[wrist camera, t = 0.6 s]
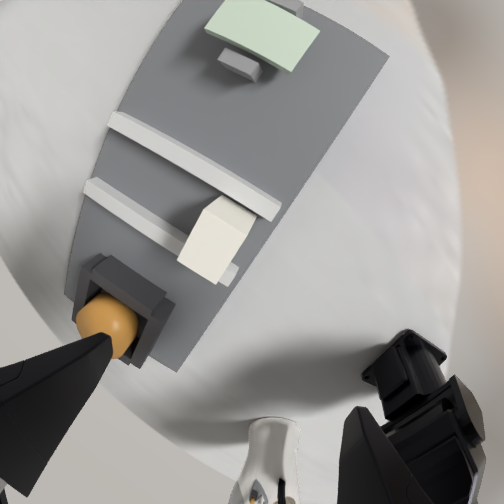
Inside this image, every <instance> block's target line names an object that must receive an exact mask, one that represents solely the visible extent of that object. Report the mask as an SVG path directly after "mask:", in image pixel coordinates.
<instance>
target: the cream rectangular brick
mask: <svg viewBox="0 0 504 504" xmlns="http://www.w3.org/2000/svg"><path fill="white" fill-rule="evenodd" d="M256 217H257V216H256V215H255V214H253V213H251V212H250V211H248V210H246V209H245V208H243V207H242V206H240V205H238V204H237V203H235V202H234V201H232V200H230V199H229V198H227V197H225V196H224V195H221V196H220V197H219V198H217V199H216V200H215V201H213V202H212V203H211V204H209V205H208V206H207V207H205V208H204V209H203V211H202V213H201V215H200V217H199V219H198V220H197V222H196V224H195V226H194V228H193V230H192V232H191V234H190V235H189V237H188V239H187V241H186V243H185V245H184V247H183V249H182V251H181V253H180V255H179V257H178V259H177V261H178V262H180V263H182V264H183V265H185V266H186V267H188V268H189V269H191V270H193V271H194V272H196V273H197V274H199V275H201V276H202V277H204V278H206V279H207V280H209V281H210V282H212V283H214V284H215V285H216V284H217V282H218V281H219V279H220V278H221V276H222V275H223V273H224V271H225V270H226V268H227V267H228V265H229V264H230V262H231V260H232V259H233V257H234V256H235V254H236V253H237V251H238V249H239V248H240V246H241V245H242V243H243V242H244V240H245V238H246V237H247V235H248V233H249V231H250V229H251V227H252V225H253V223H254V221H255V219H256Z"/></svg>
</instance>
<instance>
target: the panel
mask: <svg viewBox="0 0 504 504" xmlns="http://www.w3.org/2000/svg"><path fill="white" fill-rule="evenodd" d="M224 1H225V0H183V1H182V3H181V4H180V5H179V7H178V8H177V9H176V11H175V12H174V14H173V15H172V16H171V18H170V19H169V21H168V22H167V24H166V25H165V27H164V28H163V30H162V31H161V33H160V34H159V36H158V37H157V39H156V40H155V42H154V44H153V45H152V47H151V48H150V50H149V52H148V53H147V55H146V57H145V59H144V60H143V62H142V64H141V66H140V67H139V69H138V71H137V73H136V75H135V77H134V78H133V80H132V82H131V84H130V86H129V88H128V90H127V92H126V94H125V96H124V98H123V100H122V102H121V104H120V106H119V109H118V111H117V112H115V111H113V112H112V115H111V117H110V119H109V122H108V124H107V126H109V127H110V129H109V131H108V134H107V136H106V139H105V141H104V144H103V146H102V149H101V152H100V154H99V157H98V160H97V162H96V165H95V168H94V171H93V174H92V177H91V179H88V180H87V181H86V184H85V187H84V190H83V193H84V194H86V196H85V199H84V203H83V206H82V210H81V214H80V217H79V221H78V225H77V229H76V233H75V238H74V242H73V247H72V251H71V256H70V262H69V267H68V273H67V279H66V285H65V292H64V294H65V295H66V296H67V297H68V298H69V299H71V300H72V301H73V302H74V308H73V314H72V321H73V322H75V323H76V316H77V314H78V312H79V311H80V310H81V309H82V308H83V307H85V306H86V305H87V304H88V303H89V302H90V301H91V300H92V299H93V298H94V297H96V296H97V295H98V294H100V293H103V292H108V293H110V294H111V295H112V296H114V297H115V298H117V299H118V300H119V301H121V302H122V303H124V304H125V305H127V306H128V307H130V308H131V309H132V310H133V311H134V312H135V314H136V316H137V318H138V322H139V332H138V335H137V336H136V337H135V339H134V340H133V341H132V343H131V344H130V345H129V347H128V348H127V350H126V351H125V352H124V354H123V355H122V356H121V357H119V358H118V359H119V360H121V361H122V362H124V363H125V364H127V365H129V364H130V363H131V364H133V365H134V366H136V367H137V368H139V369H140V368H141V366H142V365H143V363H144V362H145V360H146V359H147V357H148V355H149V356H150V357H152V358H153V359H155V360H157V361H158V362H160V363H162V364H163V365H165V366H167V367H168V368H170V369H172V370H173V371H175V372H177V371H178V370H179V368H180V367H181V365H182V364H183V362H184V361H185V360H186V358H187V357H188V355H189V354H190V352H191V351H192V349H193V348H194V346H195V345H196V344H197V342H198V341H199V339H200V338H201V336H202V335H203V333H204V332H205V330H206V329H207V328H208V326H209V325H210V323H211V322H212V320H213V319H214V317H215V316H216V314H217V313H218V311H219V310H220V309H221V307H222V306H223V304H224V303H225V301H226V300H227V298H228V297H229V295H230V294H231V292H232V291H233V289H234V288H235V287H236V285H237V284H238V282H239V281H240V279H241V278H242V276H243V275H244V273H245V272H246V270H247V269H248V267H249V266H250V264H251V263H252V262H253V260H254V259H255V257H256V256H257V254H258V253H259V251H260V250H261V248H262V247H263V245H264V244H265V242H266V241H267V239H268V238H269V236H270V235H271V234H272V232H273V231H274V229H275V228H276V226H277V225H278V223H279V222H280V220H281V219H282V217H283V216H284V214H285V213H286V211H287V210H288V208H289V207H290V205H291V204H292V202H293V201H294V199H295V198H296V196H297V195H298V193H299V192H300V190H301V189H302V188H303V186H304V185H305V183H306V182H307V180H308V179H309V177H310V176H311V174H312V173H313V171H314V170H315V168H316V167H317V165H318V164H319V162H320V161H321V159H322V158H323V156H324V155H325V153H326V152H327V150H328V149H329V147H330V146H331V144H332V143H333V141H334V140H335V138H336V137H337V135H338V134H339V132H340V131H341V129H342V128H343V126H344V125H345V123H346V122H347V120H348V119H349V117H350V116H351V114H352V113H353V111H354V110H355V108H356V107H357V105H358V104H359V102H360V101H361V99H362V98H363V96H364V95H365V93H366V92H367V90H368V89H369V87H370V85H371V84H372V82H373V81H374V79H375V78H376V76H377V75H378V73H379V72H380V70H381V69H382V67H383V66H384V64H385V63H386V61H387V60H388V58H389V57H390V56H388V55H387V54H386V53H384V52H383V51H381V50H380V49H378V48H377V47H375V46H374V45H373V44H371V43H369V42H368V41H366V40H365V39H363V38H362V37H360V36H359V35H357V34H355V33H354V32H352V31H350V30H349V29H347V28H345V27H344V26H342V25H340V24H338V23H337V22H335V21H333V20H331V19H329V18H327V17H325V16H324V15H322V14H320V13H318V12H316V11H314V10H312V9H310V8H307V7H305V6H303V2H301V1H299V0H265V1H267V2H269V3H272V4H274V5H276V6H278V7H279V8H281V9H283V10H285V11H287V12H289V13H291V14H293V15H294V16H296V17H298V18H300V19H302V20H303V21H305V22H307V23H308V24H310V25H312V26H313V27H315V28H317V29H318V30H320V32H319V34H318V35H317V37H316V38H315V39H314V41H313V42H312V43H311V45H310V46H309V47H308V49H307V50H306V52H305V53H304V54H303V56H302V57H301V59H300V60H299V62H298V63H297V64H296V66H295V67H294V69H293V70H292V72H291V73H289V74H286V73H285V72H283V71H281V70H280V69H278V68H276V67H274V66H273V65H271V64H269V63H267V62H265V61H264V60H262V59H260V58H258V57H256V56H254V55H252V54H250V53H248V52H246V51H245V50H243V49H240V48H238V47H236V46H234V45H232V44H230V43H228V42H226V41H224V40H221V39H219V38H217V37H215V36H212V35H210V34H208V33H206V31H205V29H204V28H205V26H206V25H207V23H208V22H209V21H210V19H211V18H212V17H213V15H214V14H215V13H216V11H217V10H218V9H219V7H220V6H221V5H222V4H223V2H224ZM221 195H224V196H225V197H227V198H229V199H230V200H232V201H234V202H235V203H237V204H238V205H240V206H242V207H243V208H245V209H246V210H248V211H250V212H251V213H253V214H255V215H256V216H257V217H256V219H255V221H254V223H253V225H252V227H251V229H250V231H249V233H248V235H247V237H246V238H245V240H244V242H243V243H242V245H241V246H240V248H239V249H238V251H237V253H236V254H235V256H234V257H233V259H232V260H231V262H230V264H229V265H228V267H227V268H226V270H225V271H224V273H223V275H222V276H221V278H220V279H219V281H218V282H217V284H216V285H215V284H214V283H212V282H210V281H209V280H207V279H206V278H204V277H202V276H201V275H199V274H197V273H196V272H194V271H193V270H191V269H189V268H188V267H186V266H185V265H183V264H182V263H180V262H178V261H177V259H178V257H179V255H180V253H181V251H182V249H183V247H184V245H185V243H186V241H187V239H188V237H189V235H190V234H191V232H192V230H193V228H194V226H195V224H196V222H197V220H198V219H199V217H200V215H201V213H202V211H203V209H204V208H205V207H207V206H208V205H209V204H211V203H212V202H213V201H215V200H216V199H217V198H219V197H220V196H221Z"/></svg>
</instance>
